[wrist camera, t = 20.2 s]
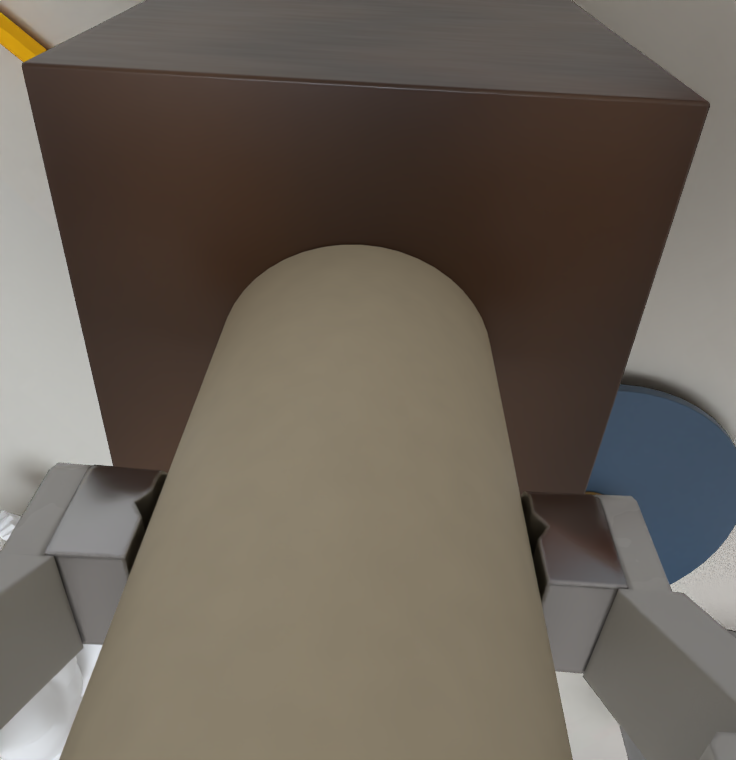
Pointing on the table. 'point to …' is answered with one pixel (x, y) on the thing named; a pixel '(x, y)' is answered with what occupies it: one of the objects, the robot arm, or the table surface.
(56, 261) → the table surface
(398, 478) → the candle
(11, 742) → the person figurine
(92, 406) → the table surface
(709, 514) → the tin lid
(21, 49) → the pencil
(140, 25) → the stand
